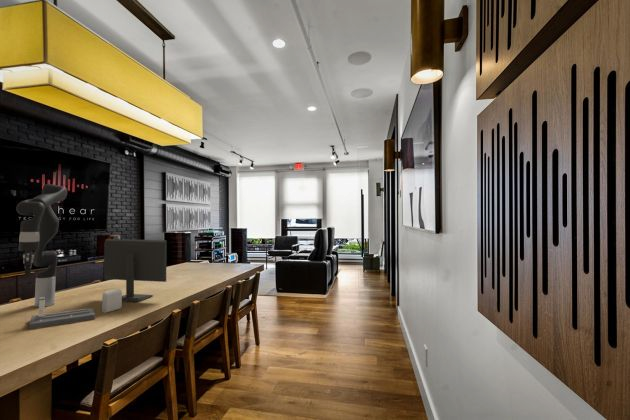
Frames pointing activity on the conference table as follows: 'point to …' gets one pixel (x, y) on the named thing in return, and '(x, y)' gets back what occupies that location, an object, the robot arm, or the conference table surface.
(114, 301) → the photo printer
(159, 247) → the computer monitor
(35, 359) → the conference table surface
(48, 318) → the grey slider track board
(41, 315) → the fader
